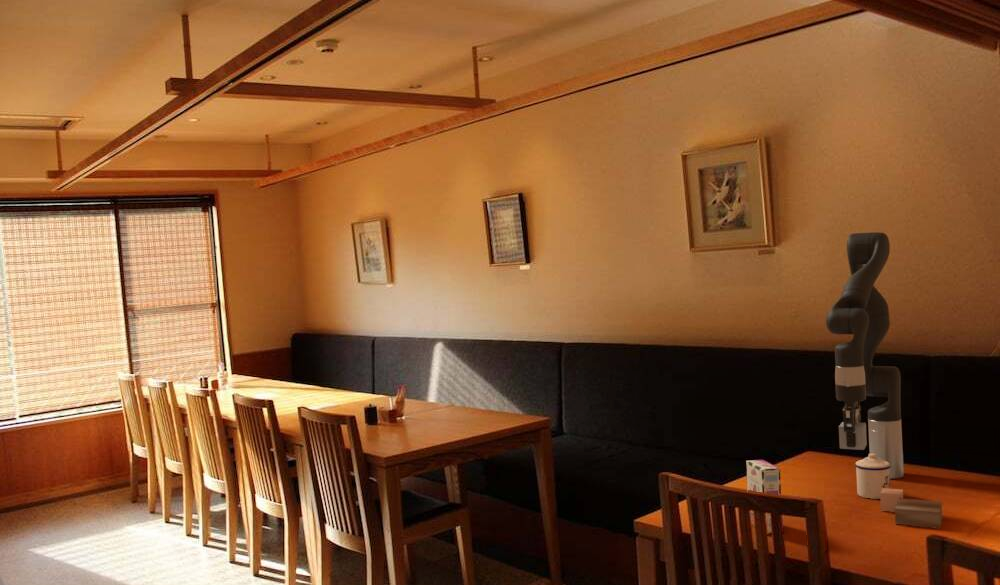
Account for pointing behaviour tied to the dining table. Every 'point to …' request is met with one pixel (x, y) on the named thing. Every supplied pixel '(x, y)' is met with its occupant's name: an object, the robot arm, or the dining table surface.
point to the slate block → (859, 434)
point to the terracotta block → (890, 498)
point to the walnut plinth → (918, 513)
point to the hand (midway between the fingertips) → (853, 443)
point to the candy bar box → (763, 481)
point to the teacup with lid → (872, 476)
